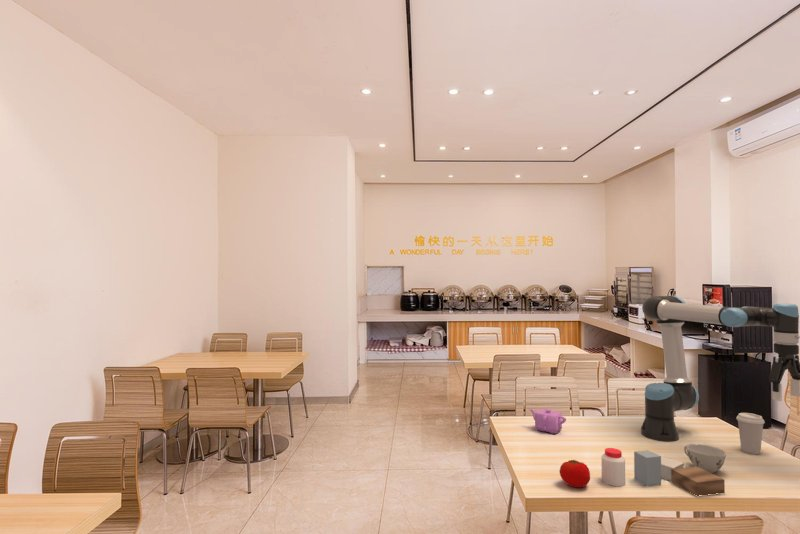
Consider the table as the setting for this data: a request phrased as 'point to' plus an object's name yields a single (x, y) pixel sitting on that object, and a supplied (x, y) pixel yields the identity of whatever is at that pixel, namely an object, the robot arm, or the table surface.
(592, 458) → the table surface
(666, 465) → the grey block
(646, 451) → the slate block
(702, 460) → the teacup
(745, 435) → the coffee cup
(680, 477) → the walnut block
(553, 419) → the teapot
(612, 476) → the pill bottle
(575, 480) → the tomato
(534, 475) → the table surface
